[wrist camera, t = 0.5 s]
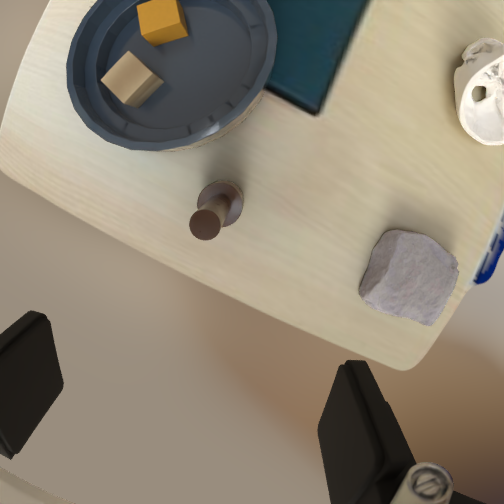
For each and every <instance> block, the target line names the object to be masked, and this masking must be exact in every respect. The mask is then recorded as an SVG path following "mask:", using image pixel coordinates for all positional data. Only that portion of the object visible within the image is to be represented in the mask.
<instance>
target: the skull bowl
mask: <svg viewBox="0 0 504 504" xmlns="http://www.w3.org/2000/svg"><path fill="white" fill-rule="evenodd" d="M483 43H485V44H483ZM462 59H463V60H464V63H463V65H462V66H461V67H458V68H457V69H456V71H455V73H454V88H455V101H456V111H457V115H458V118H459V121H460V123H461V125H462V127H463V128H464V130H465V131H466V132H467V133H468V134H469V135H470V136H471V137H473V138H474V139H475V140H477V141H479V142H480V143H482V144H485V145H501V144H504V43H501V42H500V41H497V40H495V39H493V38H487V37H483V38H480V39H478V40H477V41H476V42H475V43H473V44H470V45H468V46H467V48H466V49H465V51H464V52H463V54H462ZM488 74H489V76H488ZM475 86H484V87H486V98H484V99H483V100H481V101H479V102H475V101H474V100H473V98H472V90H473V88H474V87H475ZM496 97H497V98H496Z"/></svg>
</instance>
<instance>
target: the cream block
mask: <svg viewBox="0 0 504 504" xmlns="http://www.w3.org/2000/svg"><path fill="white" fill-rule="evenodd" d="M101 81H102V82H103V83H104V84H105V85H106V86H107V87H108V88H109V89H110V90H111V91H112V92H113V93H114V94H115V95H116V96H117V97H118V98H119V99H120V100H121V101H122V103H124V104H127V105H130V106H132V107H135V108H139V107H140V106H141V105H142V104H143V103H144V102H145V101H146V100H147V99H148V98H149V97H150V96H151V95H152V94H153V93H154V92H155V91H156V90H157V89H158V88H159V87H160V86H161V85H162V84H163V83H164V81H163V80H162V79H161V78H160V77H159V76H158V75H157V74H156V73H155V72H154V71H153V70H152V69H151V68H149V67H148V66H147V65H146V64H145V63H144V62H143V61H142V60H141V59H139V58H138V57H137V56H135V55H134V54H133V53H131V52H130V51H128V52H127V53H126V54H125V55H124V56H123V57H122V58H121V59H120V60H119V61H118V62H117V63H116V64H115V65H114V66H113V67H112V68H111V69H110V70H109V71H108V72H107V73H106V75H105V76H104V77H103V78H102V79H101Z"/></svg>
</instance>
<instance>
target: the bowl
mask: <svg viewBox="0 0 504 504" xmlns="http://www.w3.org/2000/svg"><path fill="white" fill-rule="evenodd" d="M148 1H151V0H97V1H96V3H95V4H94V5H93V6H92V7H91V9H90V10H89V11H88V12H87V14H86V15H85V16H84V18H83V19H82V21H81V23H80V25H79V27H78V29H77V31H76V33H75V35H74V37H73V39H72V42H71V46H70V50H69V54H68V59H67V63H66V69H67V88H68V92H69V95H70V98H71V101H72V104H73V107H74V109H75V111H76V112H77V113H78V115H79V116H80V118H81V119H82V120H83V122H84V123H85V124H86V126H87V127H88V128H89V129H90V130H92V131H93V132H95V133H96V134H97V135H99V136H100V137H101V138H103V139H104V140H106V141H107V142H110V143H113V144H116V145H119V146H122V147H124V148H127V149H130V150H144V151H165V152H175V151H180V150H185V149H191V148H196V147H200V146H202V145H205V144H207V143H209V142H211V141H214V140H216V139H218V138H221V137H223V136H224V135H226V134H227V133H228V132H230V131H231V130H232V129H234V128H235V127H236V126H237V125H239V124H240V123H241V122H243V121H244V120H245V119H246V118H247V117H248V115H249V114H250V113H251V112H252V111H253V109H254V108H255V107H256V106H257V104H258V103H259V102H260V101H261V99H262V97H263V95H264V93H265V90H266V88H267V86H268V84H269V81H270V79H271V77H272V72H273V66H274V60H275V53H276V46H277V39H278V38H277V37H278V36H277V30H276V25H275V20H274V14H273V12H272V10H271V8H270V6H269V4H268V3H267V1H266V0H179V2H180V4H181V6H182V8H183V12H184V16H185V21H186V26H187V30H188V35H189V36H186V37H183V38H179V39H176V40H173V41H170V42H167V43H164V44H161V45H158V46H155V47H153V46H152V45H151V44H150V43H149V42H148V41H147V40H146V39H145V38H144V37H143V36H142V35H141V30H140V24H139V17H138V11H137V6H138V5H140V4H143V3H146V2H148ZM128 51H130V52H131V53H133V54H134V55H135V56H137V57H138V58H139V59H141V60H142V61H143V62H144V63H145V64H146V65H147V66H148V67H149V68H151V69H152V70H153V71H154V72H155V73H156V74H157V75H158V76H159V77H160V78H161V79H162V80H163V81H164V83H163V84H162V85H161V86H160V87H159V88H158V89H157V90H156V91H155V92H154V93H153V94H152V95H151V96H150V97H149V98H148V99H147V100H146V101H145V102H144V103H143V104H142V105H141V106H140V107H139V108H135V107H132V106H130V105H127V104H124V103H122V101H121V100H120V99H119V98H118V97H117V96H116V95H115V94H114V93H113V92H112V91H111V90H110V89H109V88H108V87H107V86H106V85H105V84H104V83H103V82H102V81H101V79H102V78H103V77H104V76H105V75H106V73H107V72H108V71H109V70H110V69H111V68H112V67H113V66H114V65H115V64H116V63H117V62H118V61H119V60H120V59H121V58H122V57H123V56H124V55H125V54H126V53H127V52H128Z"/></svg>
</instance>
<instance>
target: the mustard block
mask: <svg viewBox="0 0 504 504" xmlns="http://www.w3.org/2000/svg"><path fill="white" fill-rule="evenodd" d="M137 11H138V17H139V24H140V30H141V35H142V36H143V37H144V38H145V39H146V40H147V41H148V42H149V43H150V44H151V45H152V46H153V47H155V46H158V45H161V44H164V43H167V42H170V41H173V40H176V39H179V38H183V37H186V36H189V35H188V30H187V26H186V21H185V16H184V12H183V8H182V6H181V4H180V2H179V0H151V1H148V2H146V3H143V4H140V5H138V6H137Z"/></svg>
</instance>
